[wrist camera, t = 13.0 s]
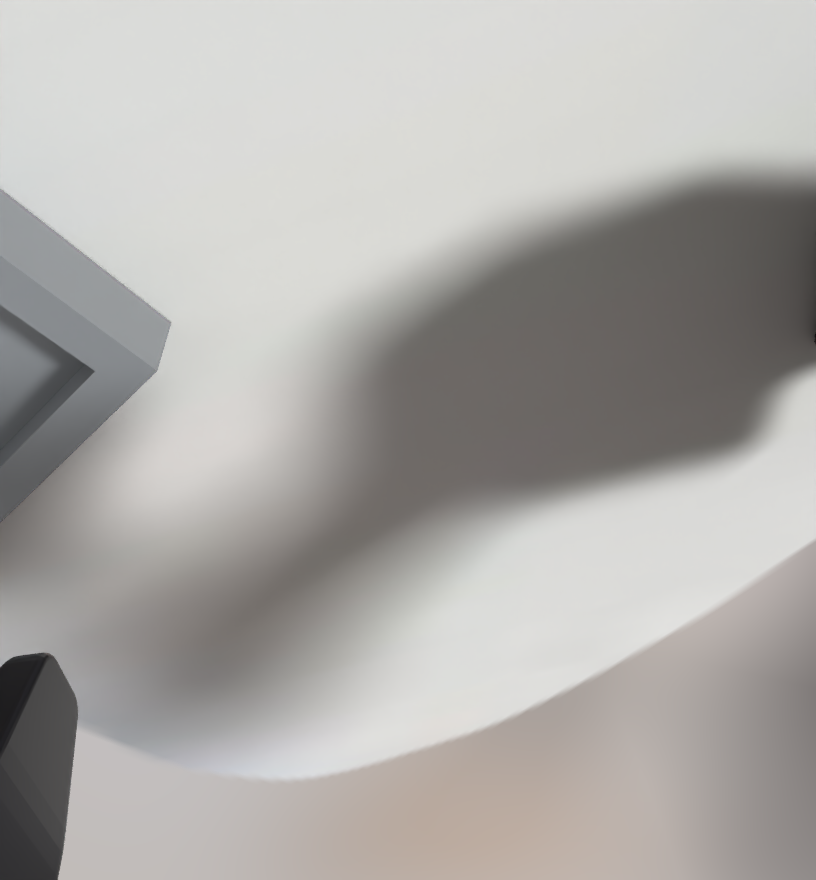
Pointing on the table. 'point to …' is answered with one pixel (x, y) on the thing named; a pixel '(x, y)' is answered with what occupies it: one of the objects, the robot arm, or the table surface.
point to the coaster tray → (61, 349)
